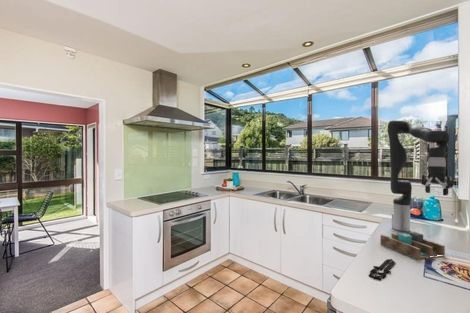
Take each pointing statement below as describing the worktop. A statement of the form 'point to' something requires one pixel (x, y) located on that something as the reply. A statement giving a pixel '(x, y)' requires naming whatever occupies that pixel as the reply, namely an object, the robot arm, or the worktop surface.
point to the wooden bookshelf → (413, 247)
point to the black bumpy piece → (386, 270)
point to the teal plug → (405, 238)
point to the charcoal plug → (417, 237)
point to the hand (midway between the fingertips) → (436, 194)
